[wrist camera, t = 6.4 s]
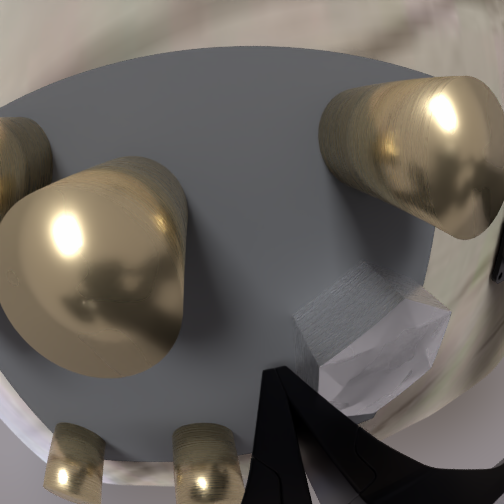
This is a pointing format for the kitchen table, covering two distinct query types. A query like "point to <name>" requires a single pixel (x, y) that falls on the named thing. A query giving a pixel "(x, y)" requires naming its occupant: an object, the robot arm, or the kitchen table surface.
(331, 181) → the mat
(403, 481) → the robot arm
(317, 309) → the clear faceted crystal
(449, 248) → the kitchen table surface
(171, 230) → the brass spacers
